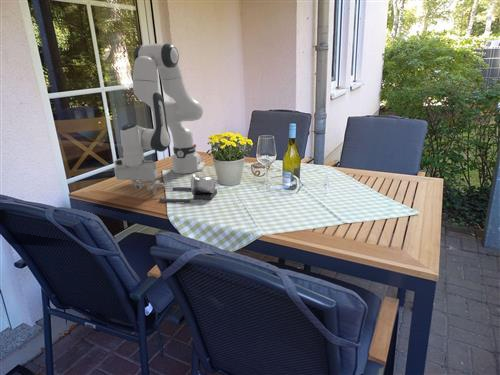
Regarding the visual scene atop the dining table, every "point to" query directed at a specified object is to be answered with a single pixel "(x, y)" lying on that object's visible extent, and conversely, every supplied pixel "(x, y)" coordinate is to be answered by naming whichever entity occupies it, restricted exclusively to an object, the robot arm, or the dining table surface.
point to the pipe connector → (153, 186)
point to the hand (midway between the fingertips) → (138, 188)
